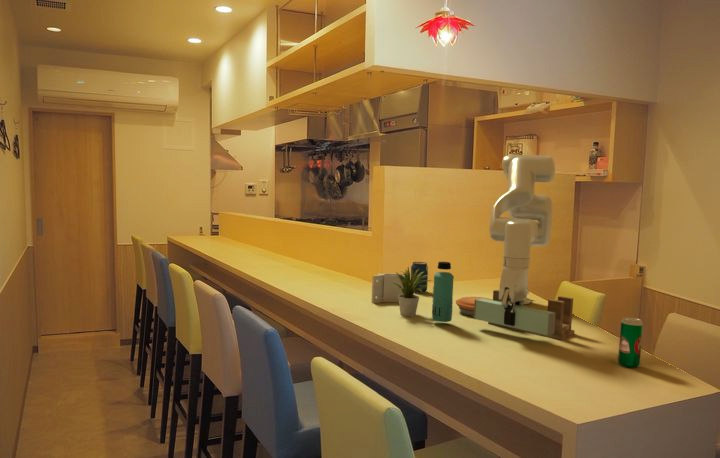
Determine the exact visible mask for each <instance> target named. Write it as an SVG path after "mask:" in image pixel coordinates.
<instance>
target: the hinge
mask: <svg viewBox="0 0 720 458" xmlns="http://www.w3.org/2000/svg"><path fill="white" fill-rule="evenodd" d="M399 274H400V275H402V276H403V277H404V278H405V275H404V273H399ZM398 278H399V277H398V275H397V274H396V273H377V275H376V274H375V275H372V278H371V279H372V283H371V284H372V285H371V303H372V304H375V303H382V302H385V303H386V302H390V303H392V302H394V303H399V298H398V296H399V295H401V294H404V293H403V292H402V290H401V289H400V290H401V291H399V287H398V286H396V285H394V284H392V283H397V284H399V285H400V286H401V287H402V288H404V287H403V285H402V283H401V280H400V278H399V279H398ZM398 291H399V292H398Z"/></svg>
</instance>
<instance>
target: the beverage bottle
mask: <svg viewBox="0 0 720 458" xmlns="http://www.w3.org/2000/svg"><path fill="white" fill-rule="evenodd" d="M451 265H452V264H451V262H450V261H438V263H437V269H439V270H451V269H452V266H451ZM432 289H433V290H432V305H431V318H432V320H433V321H435V322H441V323H445V322H446V323H449V322H452V318H453V305H454V304H453V295H454V275H453V274H452V272H448V271H437V272H436V273H435V274H434V275H433V286H432Z"/></svg>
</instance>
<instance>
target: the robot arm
mask: <svg viewBox="0 0 720 458" xmlns="http://www.w3.org/2000/svg"><path fill="white" fill-rule="evenodd" d="M501 167H502V171H503V174H504V175H505V177H506V179H507V187H506V192H505V193H504V194H502V195H501V196H500V197H499V198H498V199H497V200H496V202H495V203H494V204H493V206H492V208H491V212H490V218H489V219H490V220H489V227H488V228H489V229H488V230H489V231H488V232H489V237H490V238H491V240H493V241H495V242H502V243H503V256H502V257H503V259H502V269H501V276H500V279H499V280H500V281H499V288H498V290H499V300H501V301H502V303H501V304H502V306H503V307H504V311H505V312H504V324H506V325H510V326H514V325H515V312H514V309H515V305H519V306H524V305H529V304H531V299H530V298H529V297H527V296H528V294H530V290H529V270H530V261H531V249H532V248H531V246H532V247H545V246H548V244H549V243H550V241H551V235H552V234H551V231H552V221H553V200H552V198H551V197H550V196H549V195H547V194H536V193H535V183H551V182H552V181H553V180H554V177H555V174H556V163H555V160H554V158H553V157H552V156H551V155H543V154H542V155H541V154H537V155H535V154H508V155H505V156H504V157H503V158H502V160H501ZM505 212H507V213H508V216H509V217H505V216H504V217H503V216H501V215H503V214H504V213H505ZM509 299H511V301H508V300H509ZM509 303H510V304H512V306H511V305H510V304H509Z"/></svg>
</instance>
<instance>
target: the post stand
mask: <svg viewBox="0 0 720 458" xmlns="http://www.w3.org/2000/svg"><path fill="white" fill-rule="evenodd" d="M492 299H493V301H498V302H502V301H501V300H499V289H494V290H493V291H492ZM508 301H511V299H509V300H508ZM509 304H510V303H509ZM573 306H574V297H568V296H563V295H559V296H557V299H552V298H551V299H548V300H547V311H549V312H554V313H556V314H555V328H554V334H552V335H550V336H548V335H543V334H539V333H535V332H530V331H526V330H521V329H517V328H513V327H508V326H504V325H499V324H495V323H491V322H487V323H488V325H491V326H497V327H501V328H505V329H509V330H516V331H520V332H522V333H523V332H524V333H528V334H533V335H537V336H542V337H547V338H551V339H557V340H561V341H562V340H565V339H566V338H569V337H570V336H573V335H575V331H576V330H573V329H572V325H573V324H572V321H573V308H574V307H573Z"/></svg>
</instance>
